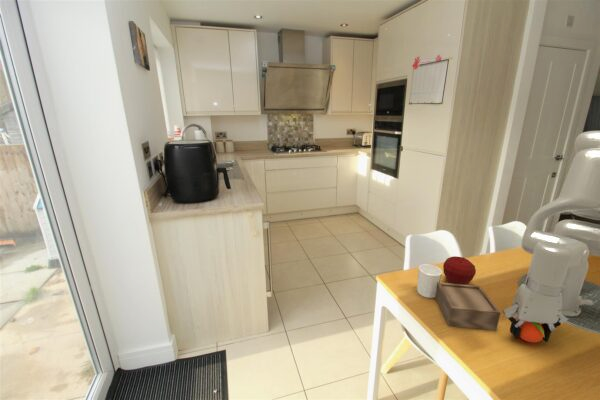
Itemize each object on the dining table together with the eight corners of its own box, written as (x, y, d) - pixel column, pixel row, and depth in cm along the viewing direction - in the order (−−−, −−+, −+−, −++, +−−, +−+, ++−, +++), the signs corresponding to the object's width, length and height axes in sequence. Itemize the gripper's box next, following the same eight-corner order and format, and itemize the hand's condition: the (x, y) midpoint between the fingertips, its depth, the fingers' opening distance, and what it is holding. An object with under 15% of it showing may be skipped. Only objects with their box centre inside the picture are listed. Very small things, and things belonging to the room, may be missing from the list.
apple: (435, 282, 112) (439, 256, 109) (449, 273, 118) (453, 249, 115) (464, 296, 103) (469, 268, 100) (477, 286, 109) (482, 259, 106)
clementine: (551, 349, 80) (557, 328, 78) (530, 352, 79) (536, 332, 76) (525, 328, 87) (530, 309, 85) (506, 331, 86) (510, 312, 84)
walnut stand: (476, 302, 100) (479, 286, 98) (496, 330, 87) (500, 312, 85) (435, 298, 102) (437, 282, 100) (448, 325, 89) (451, 307, 87)
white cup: (440, 300, 101) (444, 276, 98) (417, 297, 103) (421, 274, 100) (435, 287, 108) (438, 265, 105) (413, 285, 110) (416, 263, 107)
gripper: (568, 280, 79) (552, 330, 85) (501, 275, 82) (490, 324, 87) (590, 296, 72) (571, 350, 78) (516, 290, 75) (502, 343, 80)
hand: (528, 336), depth 82 cm, fingers closed on clementine, 7 cm apart
